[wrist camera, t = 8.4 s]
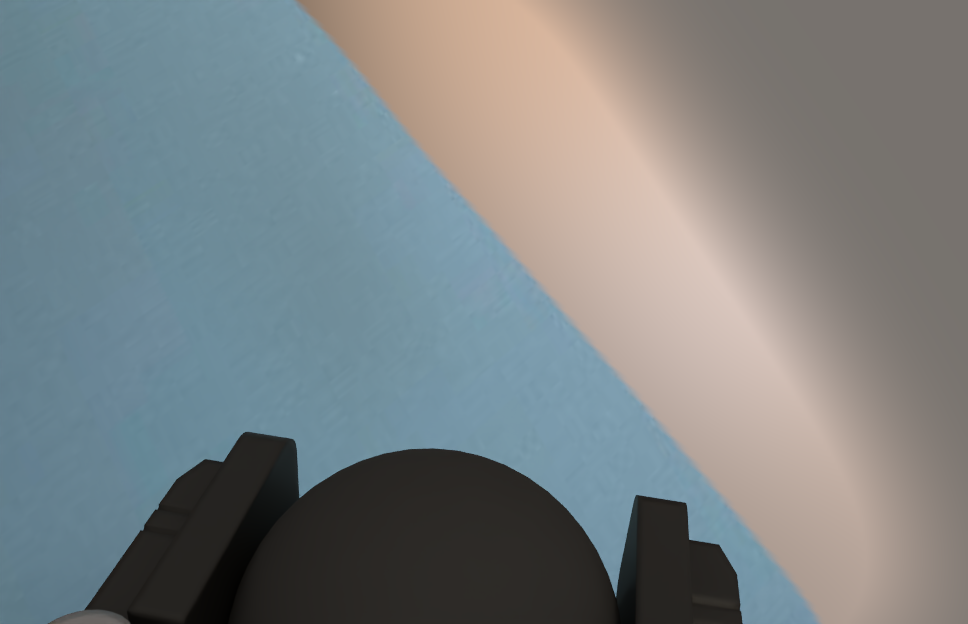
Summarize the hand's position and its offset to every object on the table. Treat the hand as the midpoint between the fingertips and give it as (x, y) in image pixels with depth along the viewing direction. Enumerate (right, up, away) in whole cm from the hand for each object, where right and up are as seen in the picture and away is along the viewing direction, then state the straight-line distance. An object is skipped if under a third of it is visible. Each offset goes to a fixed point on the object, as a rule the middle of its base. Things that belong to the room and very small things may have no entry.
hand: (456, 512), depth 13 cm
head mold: (0, -3, +5) cm, 6 cm away
